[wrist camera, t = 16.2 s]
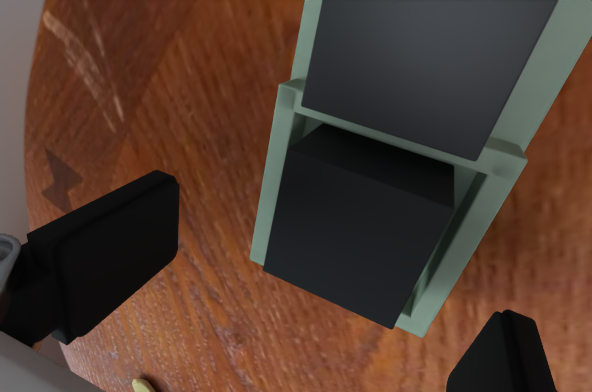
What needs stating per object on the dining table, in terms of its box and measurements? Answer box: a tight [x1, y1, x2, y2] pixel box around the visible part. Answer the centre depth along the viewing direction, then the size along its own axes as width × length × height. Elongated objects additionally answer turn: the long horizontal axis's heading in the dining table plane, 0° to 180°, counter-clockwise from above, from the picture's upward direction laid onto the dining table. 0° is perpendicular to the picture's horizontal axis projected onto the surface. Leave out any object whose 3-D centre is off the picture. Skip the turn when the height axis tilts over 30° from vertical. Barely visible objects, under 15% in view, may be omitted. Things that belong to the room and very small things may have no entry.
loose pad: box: [263, 123, 455, 329], centre depth 12 cm, size 5×5×4 cm
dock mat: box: [250, 0, 592, 338], centre depth 12 cm, size 8×13×5 cm, turn 168°
